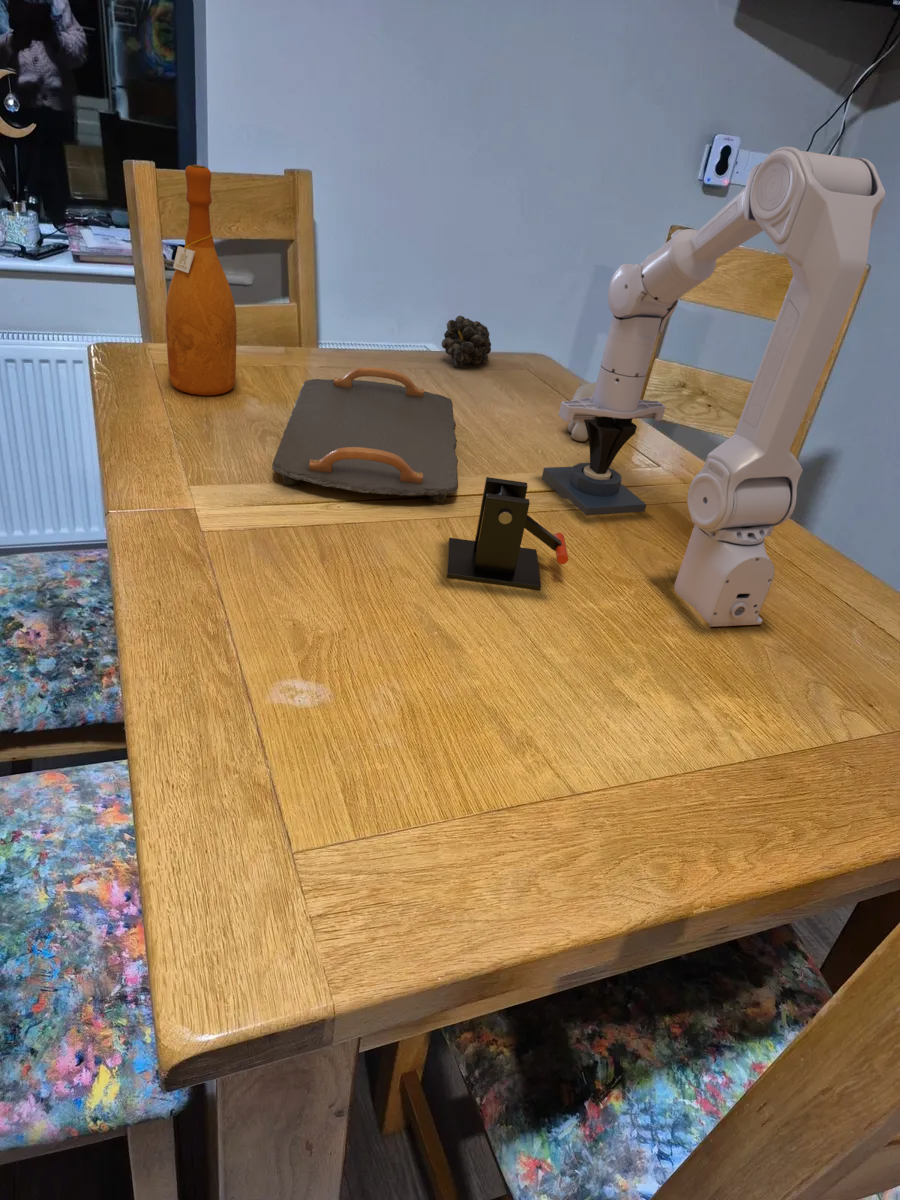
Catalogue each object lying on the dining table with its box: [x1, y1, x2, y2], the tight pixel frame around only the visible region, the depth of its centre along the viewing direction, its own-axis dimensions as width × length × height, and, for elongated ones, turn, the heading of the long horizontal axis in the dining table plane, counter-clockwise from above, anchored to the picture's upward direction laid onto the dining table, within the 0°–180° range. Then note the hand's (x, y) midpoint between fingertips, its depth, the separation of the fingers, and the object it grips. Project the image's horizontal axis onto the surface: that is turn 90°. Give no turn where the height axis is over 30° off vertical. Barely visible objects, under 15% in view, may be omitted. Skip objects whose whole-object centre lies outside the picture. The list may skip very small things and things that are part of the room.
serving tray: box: [271, 366, 459, 505], centre depth 113 cm, size 39×23×6 cm, turn 1°
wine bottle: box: [165, 164, 237, 396], centre depth 117 cm, size 10×10×30 cm
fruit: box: [441, 315, 492, 368], centre depth 153 cm, size 9×8×15 cm
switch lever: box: [494, 486, 569, 565], centre depth 88 cm, size 10×5×2 cm
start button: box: [583, 465, 611, 480], centre depth 110 cm, size 4×4×2 cm
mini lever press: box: [446, 476, 542, 591], centre depth 88 cm, size 10×8×10 cm
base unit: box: [541, 462, 647, 516], centre depth 110 cm, size 12×9×4 cm
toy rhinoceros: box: [567, 378, 597, 442], centre depth 130 cm, size 7×12×8 cm, turn 1°
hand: (597, 470), depth 109 cm, fingers closed, pressing on start button
